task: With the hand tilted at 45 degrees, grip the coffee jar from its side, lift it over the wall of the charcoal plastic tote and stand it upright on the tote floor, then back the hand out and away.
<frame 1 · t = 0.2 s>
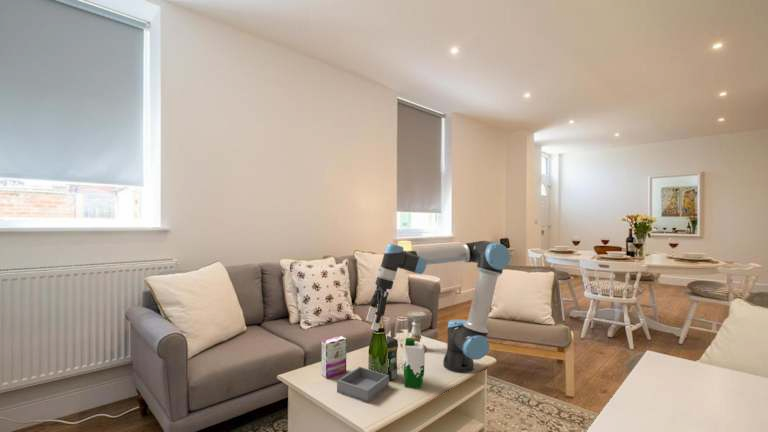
hand: (371, 325, 161), 27 cm above the table, tool tilted 15°, fingers open, 13 cm apart
coffee jar: (386, 376, 173), on the table
candle holder: (415, 349, 207), on the table
milk carton: (413, 384, 165), on the table
candy bar box: (333, 374, 174), on the table
tote: (363, 389, 160), on the table
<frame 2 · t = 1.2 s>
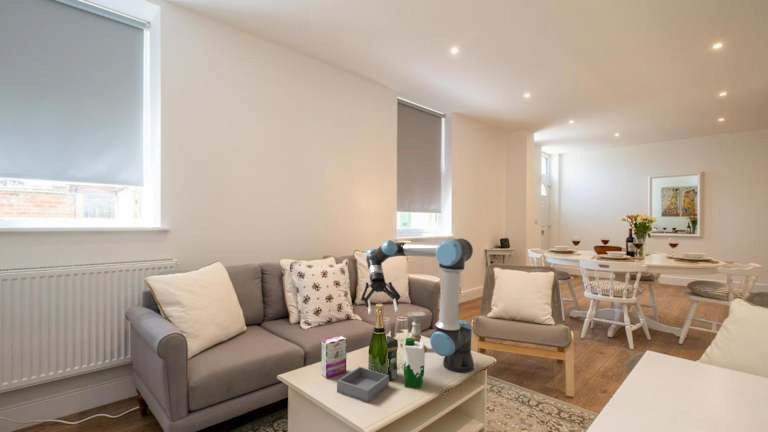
hand: (383, 312, 181), 28 cm above the table, tool tilted 45°, fingers open, 13 cm apart
nothing on the table moved.
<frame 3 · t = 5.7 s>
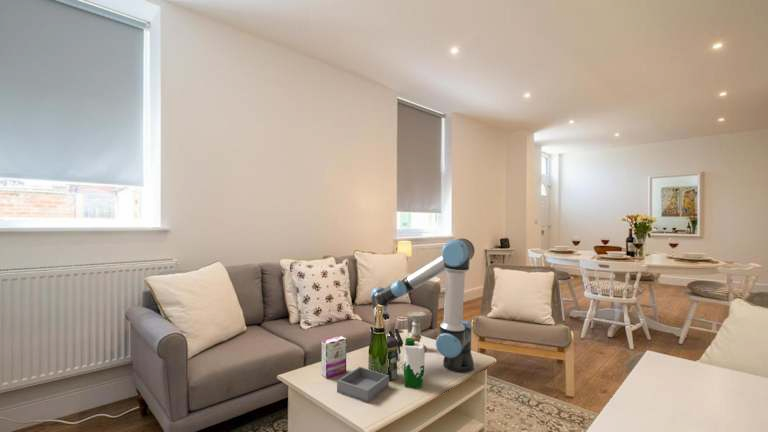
hand: (389, 361, 169), 8 cm above the table, tool tilted 45°, fingers closed on coffee jar, 9 cm apart
coffee jar: (386, 376, 173), on the table, touching gripper
everything else where it was.
when the fingers open (11 cm above the table, at t = 12.5 s): coffee jar drops 1 cm, resting on tote.
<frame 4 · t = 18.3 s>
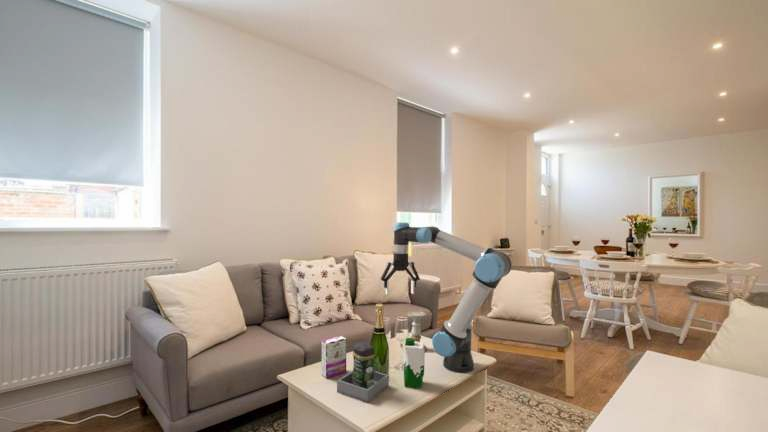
hand: (399, 294, 189), 35 cm above the table, tool pointing down, fingers open, 13 cm apart
coffee jar: (362, 387, 160), point 1 cm above the table, touching tote
everything else where it was.
at the end: coffee jar inside the target area on the tote (0.2 cm from its centre), point 0.8 cm above the tote's base; coffee jar tilted 0°; the gripper is holding nothing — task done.
